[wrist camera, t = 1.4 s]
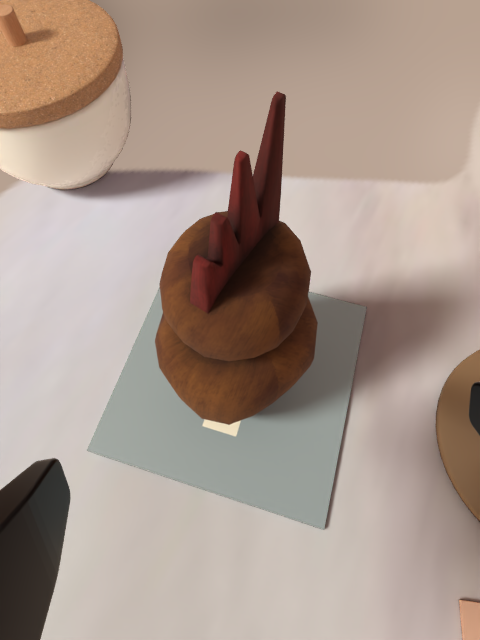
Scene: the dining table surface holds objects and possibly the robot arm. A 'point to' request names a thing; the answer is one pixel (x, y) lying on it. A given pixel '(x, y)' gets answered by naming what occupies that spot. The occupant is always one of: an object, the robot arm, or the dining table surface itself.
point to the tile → (470, 619)
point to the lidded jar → (61, 92)
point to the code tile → (241, 424)
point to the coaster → (460, 432)
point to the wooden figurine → (238, 296)
